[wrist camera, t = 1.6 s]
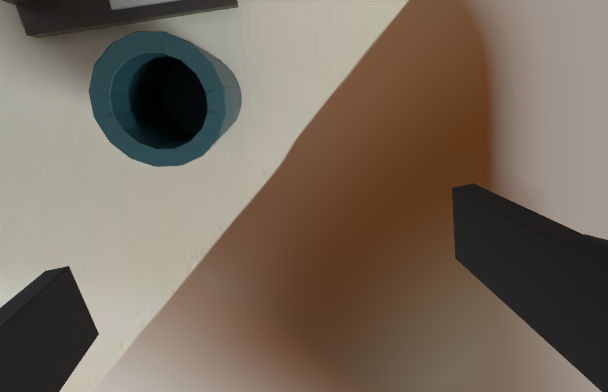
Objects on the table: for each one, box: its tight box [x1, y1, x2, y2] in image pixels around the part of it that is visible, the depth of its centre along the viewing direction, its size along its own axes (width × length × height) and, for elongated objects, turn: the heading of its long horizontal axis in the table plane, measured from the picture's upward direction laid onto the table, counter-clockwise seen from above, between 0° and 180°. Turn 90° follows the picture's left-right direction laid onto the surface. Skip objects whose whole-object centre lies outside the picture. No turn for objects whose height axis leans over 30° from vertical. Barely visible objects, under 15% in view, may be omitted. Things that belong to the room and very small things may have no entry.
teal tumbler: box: [89, 31, 241, 167], centre depth 29 cm, size 8×8×14 cm
